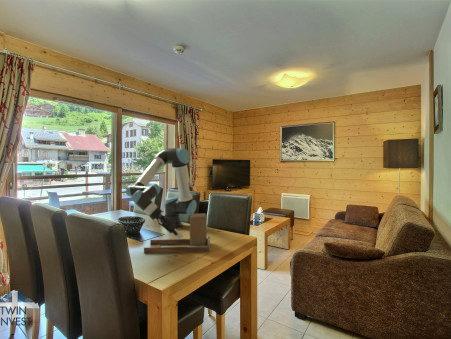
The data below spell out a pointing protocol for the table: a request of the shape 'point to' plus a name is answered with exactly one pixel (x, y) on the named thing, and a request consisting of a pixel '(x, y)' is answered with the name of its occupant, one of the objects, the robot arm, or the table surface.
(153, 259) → the table surface
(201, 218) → the wooden block
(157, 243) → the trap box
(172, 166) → the robot arm
